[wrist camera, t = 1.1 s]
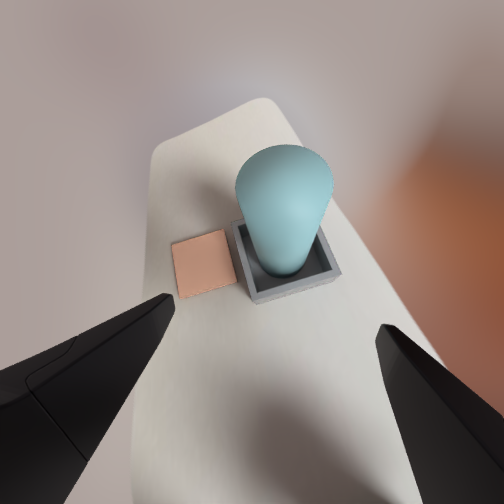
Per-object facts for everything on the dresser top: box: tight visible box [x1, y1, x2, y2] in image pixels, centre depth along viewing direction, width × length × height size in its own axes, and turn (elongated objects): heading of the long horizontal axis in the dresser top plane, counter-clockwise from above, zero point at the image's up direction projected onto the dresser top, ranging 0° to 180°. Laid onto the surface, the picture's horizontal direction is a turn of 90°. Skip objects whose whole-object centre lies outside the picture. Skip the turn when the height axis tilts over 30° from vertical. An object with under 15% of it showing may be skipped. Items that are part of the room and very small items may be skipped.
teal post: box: [235, 145, 334, 279], centre depth 17 cm, size 5×5×12 cm
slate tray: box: [231, 218, 342, 305], centre depth 21 cm, size 8×8×3 cm
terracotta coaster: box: [171, 229, 238, 299], centre depth 23 cm, size 6×6×1 cm
